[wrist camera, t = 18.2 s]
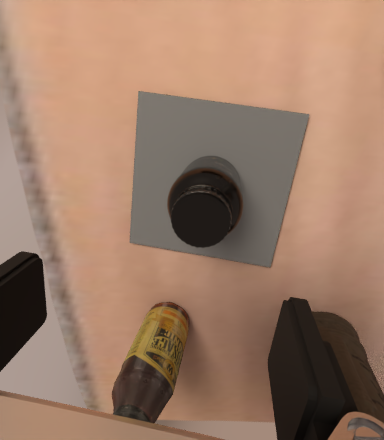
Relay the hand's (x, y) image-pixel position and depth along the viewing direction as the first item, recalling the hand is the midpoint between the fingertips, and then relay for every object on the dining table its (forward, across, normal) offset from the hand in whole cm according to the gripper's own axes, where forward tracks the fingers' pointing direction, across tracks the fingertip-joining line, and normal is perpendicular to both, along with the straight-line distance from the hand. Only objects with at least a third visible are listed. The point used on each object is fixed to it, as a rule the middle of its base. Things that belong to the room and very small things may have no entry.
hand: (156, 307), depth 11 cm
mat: (+25, 0, +1) cm, 25 cm away
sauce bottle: (+25, +3, +21) cm, 33 cm away
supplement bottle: (+24, 0, +1) cm, 24 cm away
